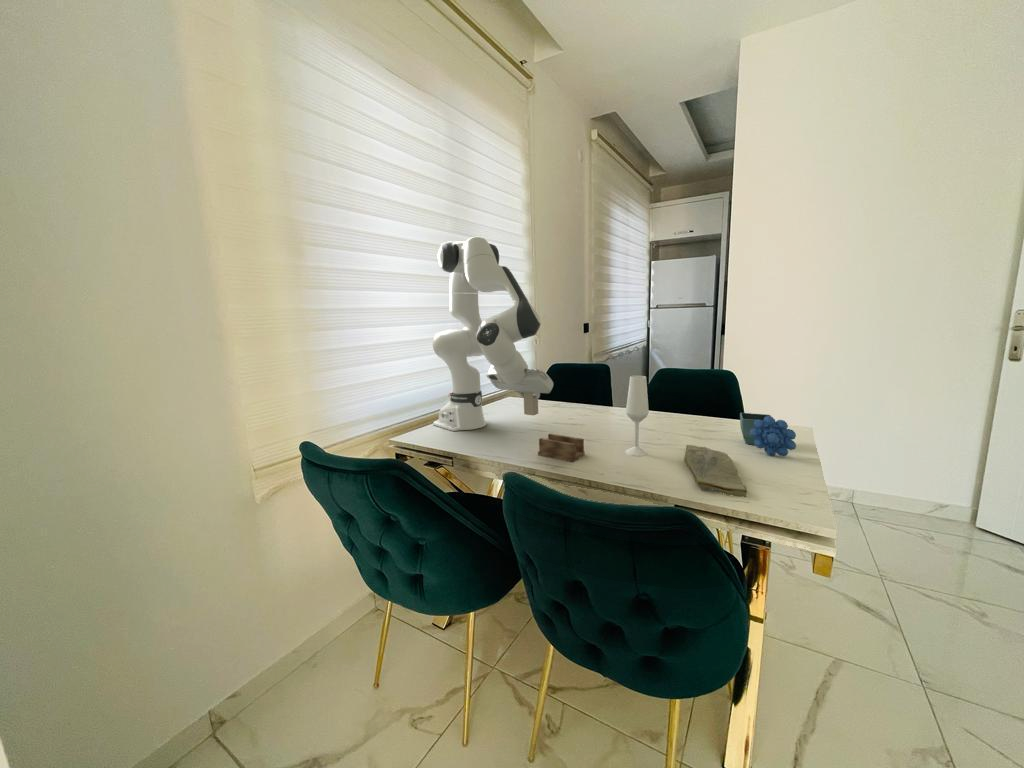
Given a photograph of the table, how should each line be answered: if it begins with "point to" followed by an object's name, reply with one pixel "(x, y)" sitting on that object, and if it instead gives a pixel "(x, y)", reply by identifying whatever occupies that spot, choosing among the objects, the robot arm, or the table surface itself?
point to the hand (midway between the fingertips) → (531, 395)
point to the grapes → (773, 436)
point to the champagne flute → (637, 408)
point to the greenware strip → (530, 404)
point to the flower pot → (749, 425)
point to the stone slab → (714, 471)
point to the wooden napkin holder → (561, 447)
